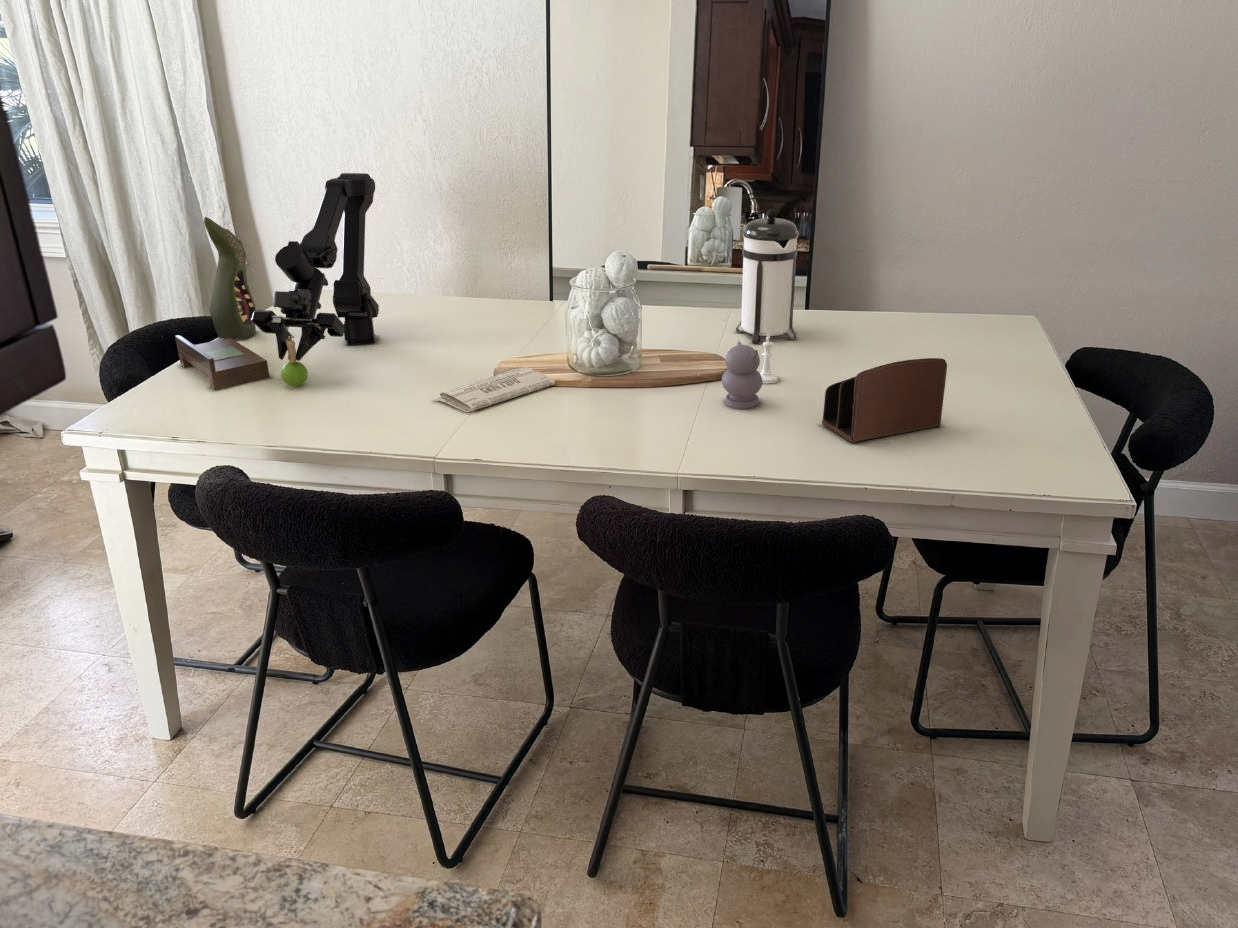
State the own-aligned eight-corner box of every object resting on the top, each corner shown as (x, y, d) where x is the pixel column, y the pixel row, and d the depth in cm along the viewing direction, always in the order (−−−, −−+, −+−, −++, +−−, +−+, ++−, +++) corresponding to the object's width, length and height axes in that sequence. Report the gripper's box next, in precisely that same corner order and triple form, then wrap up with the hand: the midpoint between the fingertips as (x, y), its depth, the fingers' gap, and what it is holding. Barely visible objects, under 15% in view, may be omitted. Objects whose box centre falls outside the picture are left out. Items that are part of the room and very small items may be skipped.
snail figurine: (286, 393, 211) (277, 338, 206) (280, 384, 216) (272, 330, 211) (312, 389, 213) (304, 334, 208) (306, 380, 219) (298, 326, 214)
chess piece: (780, 377, 215) (783, 332, 211) (773, 385, 211) (776, 339, 207) (758, 374, 217) (760, 329, 213) (751, 381, 213) (753, 336, 209)
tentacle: (210, 342, 245) (186, 217, 232) (233, 327, 256) (212, 207, 243) (246, 343, 244) (224, 217, 231) (267, 328, 255) (248, 207, 242)
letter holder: (941, 426, 189) (950, 354, 183) (851, 444, 182) (858, 370, 176) (907, 409, 197) (915, 339, 192) (821, 425, 191) (826, 354, 185)
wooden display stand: (233, 354, 236) (228, 325, 233) (269, 377, 220) (264, 347, 217) (180, 365, 229) (174, 335, 226) (214, 390, 214) (208, 359, 211)
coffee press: (808, 331, 245) (817, 205, 233) (781, 348, 233) (788, 217, 220) (744, 320, 254) (748, 199, 241) (714, 337, 241) (717, 210, 229)
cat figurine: (713, 399, 204) (715, 342, 199) (747, 393, 207) (749, 336, 202) (734, 413, 197) (736, 354, 192) (769, 406, 200) (772, 348, 195)
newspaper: (517, 372, 221) (517, 361, 220) (554, 391, 213) (555, 380, 212) (431, 398, 206) (431, 387, 205) (467, 419, 199) (467, 408, 198)
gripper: (248, 272, 210) (228, 339, 205) (331, 275, 207) (313, 343, 202) (273, 299, 221) (255, 363, 215) (352, 302, 217) (336, 368, 212)
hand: (288, 359), depth 211 cm, fingers closed on snail figurine, 3 cm apart
